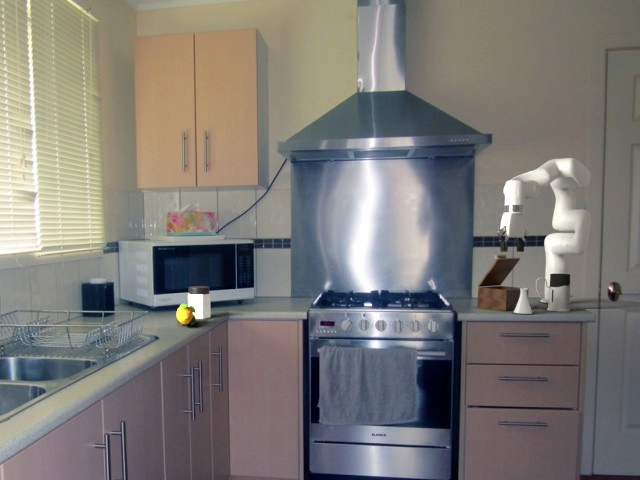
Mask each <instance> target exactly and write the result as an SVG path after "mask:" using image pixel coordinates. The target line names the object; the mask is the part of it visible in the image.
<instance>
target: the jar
mask: <svg viewBox="0 0 640 480" xmlns="http://www.w3.org/2000/svg"><path fill="white" fill-rule="evenodd" d="M187 304H188V306H189V307H190V306H191V305H192V306H193V307H194V308H195V310H196V314H195V313H194V312H193V315H195V318H196V319H195V320H199V319H200V320H204V319H211V317H212V316H211V315H212V314H211V313H212V311H211V293H210V286H206V285H194V286H188V293H187Z"/></svg>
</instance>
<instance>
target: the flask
mask: <svg viewBox="0 0 640 480" xmlns="http://www.w3.org/2000/svg"><path fill="white" fill-rule="evenodd" d="M519 288H520V290H521V292H520V298H519V300H518V303H517V306H516V308H515V310H514V311H513V313H514V314H520V315H521V314H522V315H529V314H530V315H531V314H533V309H532V307H531V303H530V301H529V294H528V295H527V290H528V291H529V288H528V287H519Z"/></svg>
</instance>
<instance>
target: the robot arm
mask: <svg viewBox="0 0 640 480" xmlns="http://www.w3.org/2000/svg"><path fill="white" fill-rule="evenodd" d="M591 179H592V175H591V172H590V170H589V169H588V168H587V167H586V166H585V165H584V164H583V163H582V162H581V161H579V160H578V159H576V158H574V157H562V158H552V159H549V160H548V161H546V162H545V163H543V164H542V165H540V166H539V167H537V168H535V169H533V170H530V171H527V172H524V173H521V174H519V175H516V176H514V177H512V178H511V179H508V180H507V181H506V182H505V184H504V187H503V191H502V193H503V195H504V211H503V213H502V216H501V219H500V229H498V230H497V232H496V233H497V238H498V240H499V243H500V246H499V249H500V250H499V251H500V252H501V253H507V252H508V251H509V249H508V248H509V242H508V240H509V239H510V238H514V239H516V240H517V242H516V252H517V253H524V252H525V243H526V241H527V238H528V236H529V231H528V229H526V218H525V200H526V199H527V200H528V199H534V198H536V197H538V196H539V194H540V193H541V189H542V188H546V187H548V186H549V185H550V187H551V189H552V191H553V194H554V197H555V203H554V208H553V214H552V222H551V226H552V228H553V229H554V230H555V231H559V232H552V233H550V234H548V235H546V237H545V238H544V242H543V247H544V253H545V271H544V272H545V274H544V278H545V279H546V281H547V287H549V286H550V274H570V270H569V269H570V263H569V260H568V258H567V257H566V256H565V255H573V256H575V255H576V256H577V255H582V254H584V253H585V252H586V250H587V247H588V242H589V238H590V233H591V226H592V215H591V213H590V212H589V211H588V210H586V209H577V208H576V207H577V198H576V196H575V194H574V193H573V191H572V189H583V188H587V187H589V185H590V183H591ZM560 231H561V232H560ZM547 287H546V282H545V281H544V292H543V293H544V294H543V295H544V296H543V298H544V299H545V300H547V301H548V302H549V288H547ZM573 297H574V294H573V293H571V292H570V303H569V304H571V303H572V300H571V298H573ZM544 299H542V298H541V299H540V303H542V304H543V303H544V304H548V303H547V302H546V301H545V300H544Z"/></svg>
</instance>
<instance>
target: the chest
mask: <svg viewBox="0 0 640 480" xmlns="http://www.w3.org/2000/svg"><path fill="white" fill-rule="evenodd" d="M520 288H521V287H517V286H507V285H506V286H505V285H499V286H484V287H478V286H477V308H478V309H485V310H492V311H493V310H494V311H500V312H501V311H502V312H511V311H512V312H514V310H515V308H516V306H517V303H518V300H519V298H520V292H521V290H520ZM527 295H528V296H529V289H528V290H527Z"/></svg>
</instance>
